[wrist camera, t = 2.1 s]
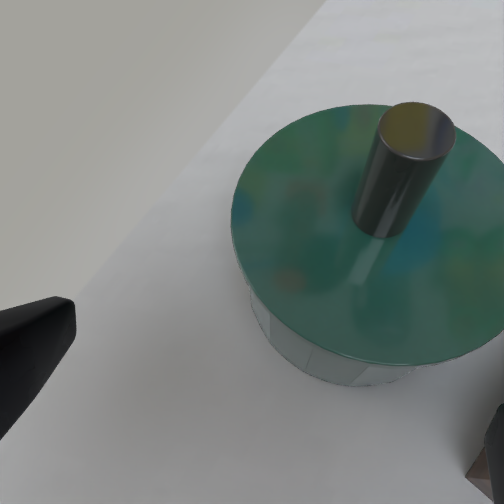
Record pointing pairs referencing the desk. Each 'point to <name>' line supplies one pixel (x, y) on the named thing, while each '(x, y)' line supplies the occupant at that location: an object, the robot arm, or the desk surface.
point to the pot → (320, 356)
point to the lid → (375, 234)
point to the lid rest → (481, 475)
